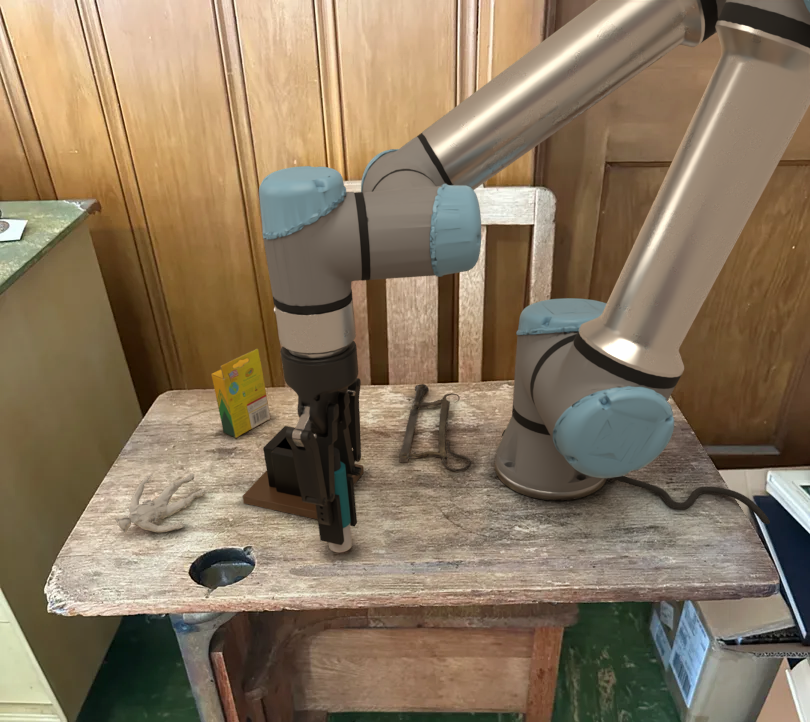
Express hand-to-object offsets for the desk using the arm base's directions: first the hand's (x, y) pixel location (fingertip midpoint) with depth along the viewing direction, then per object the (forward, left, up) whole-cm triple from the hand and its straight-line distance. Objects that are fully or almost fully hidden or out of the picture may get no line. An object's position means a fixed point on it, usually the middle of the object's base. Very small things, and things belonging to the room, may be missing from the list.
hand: (339, 531), depth 89 cm
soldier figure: (+24, +1, -3) cm, 25 cm away
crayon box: (+26, -23, -3) cm, 35 cm away
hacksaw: (-2, -32, -3) cm, 32 cm away
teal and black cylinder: (0, 0, -2) cm, 2 cm away
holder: (+10, -11, -3) cm, 15 cm away
